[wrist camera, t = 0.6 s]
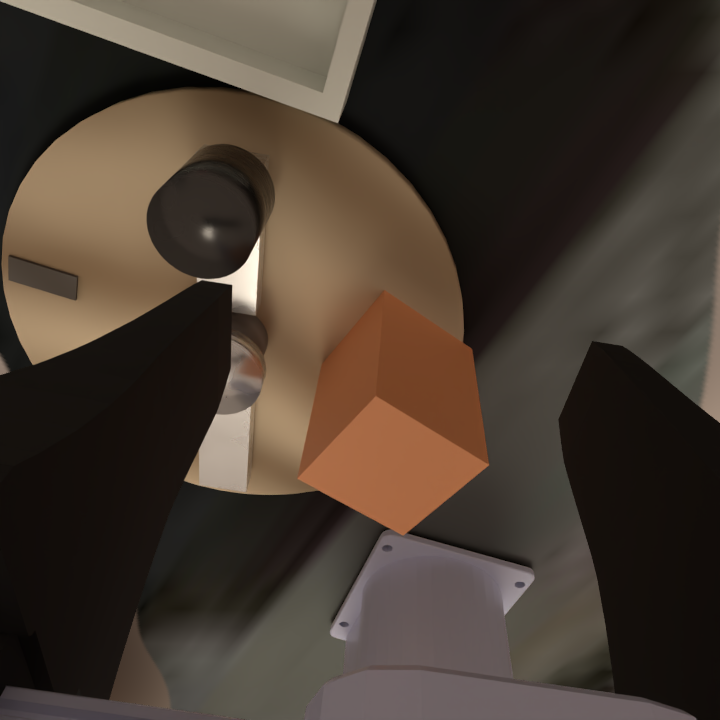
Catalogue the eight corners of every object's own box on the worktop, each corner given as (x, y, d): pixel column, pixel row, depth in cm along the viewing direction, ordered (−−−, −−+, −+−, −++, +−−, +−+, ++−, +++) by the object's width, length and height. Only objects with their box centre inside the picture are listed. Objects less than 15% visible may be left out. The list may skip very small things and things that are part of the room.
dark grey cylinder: (264, 478, 26) (244, 553, 23) (191, 467, 26) (160, 540, 23) (290, 145, 18) (264, 188, 15) (184, 127, 18) (135, 166, 15)
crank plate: (375, 520, 29) (372, 562, 27) (14, 419, 27) (-17, 457, 25) (547, 194, 20) (562, 222, 18) (11, -1, 17) (-40, 6, 15)
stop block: (471, 348, 22) (489, 464, 17) (405, 414, 24) (403, 535, 19) (384, 289, 21) (375, 396, 16) (321, 363, 23) (297, 478, 18)
